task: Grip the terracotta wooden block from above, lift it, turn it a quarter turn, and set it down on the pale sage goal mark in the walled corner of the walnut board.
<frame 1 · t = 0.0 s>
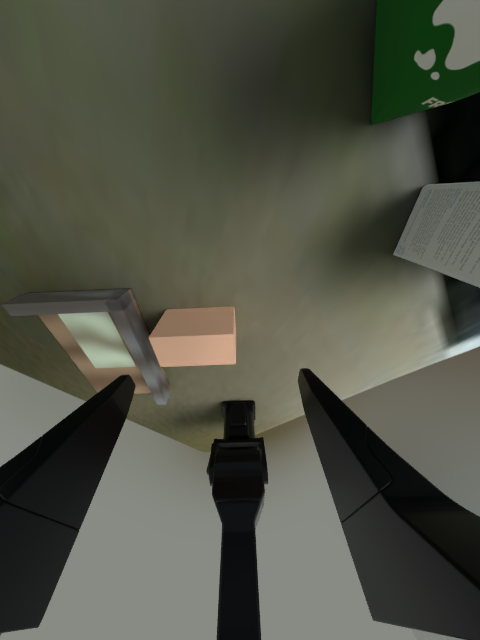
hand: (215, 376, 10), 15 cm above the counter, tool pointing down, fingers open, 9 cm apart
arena: (113, 350, 28), on the counter
light bulb box: (453, 222, 19), on the counter
terracotta block: (202, 321, 26), on the counter
milk carton: (425, 33, 13), on the counter
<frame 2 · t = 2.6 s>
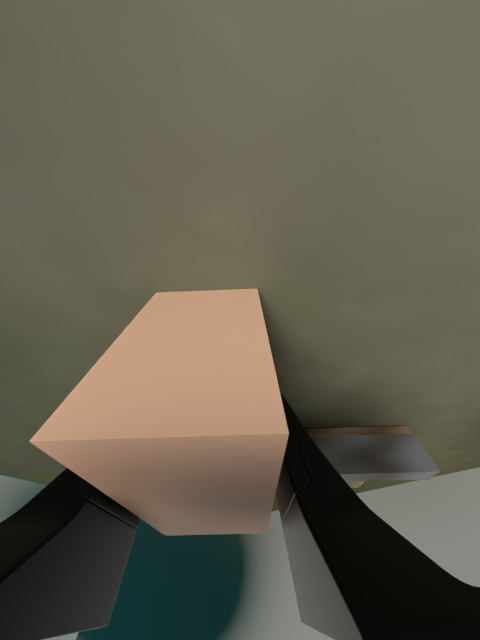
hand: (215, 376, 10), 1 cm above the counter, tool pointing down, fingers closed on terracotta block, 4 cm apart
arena: (276, 461, 19), on the counter
terracotta block: (217, 362, 11), on the counter, touching gripper
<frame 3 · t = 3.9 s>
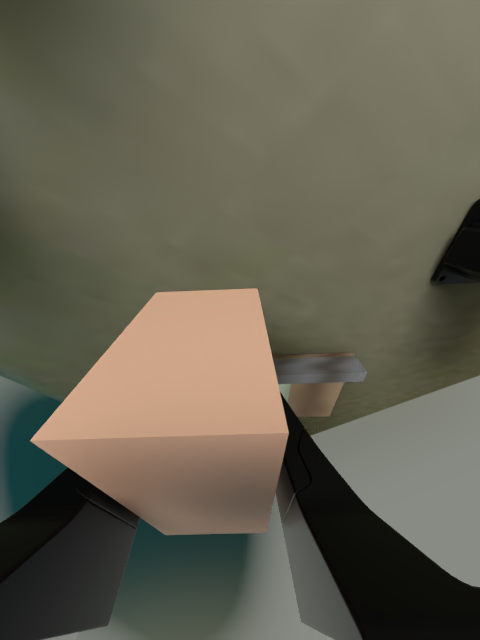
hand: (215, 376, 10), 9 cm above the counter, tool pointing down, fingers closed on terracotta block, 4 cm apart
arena: (266, 389, 26), on the counter
terracotta block: (217, 361, 11), point 8 cm above the counter, touching gripper
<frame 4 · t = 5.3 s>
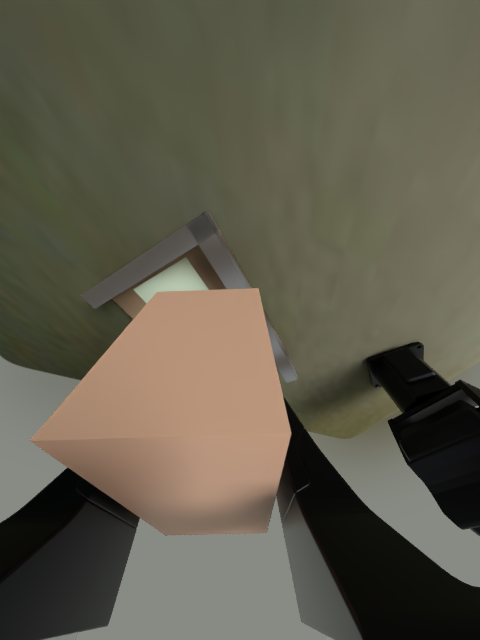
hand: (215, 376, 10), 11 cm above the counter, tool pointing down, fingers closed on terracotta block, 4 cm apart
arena: (210, 327, 22), on the counter
terracotta block: (217, 361, 11), point 10 cm above the counter, touching gripper
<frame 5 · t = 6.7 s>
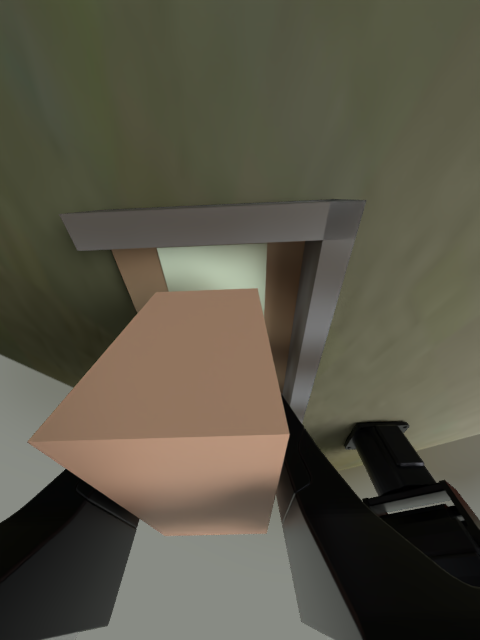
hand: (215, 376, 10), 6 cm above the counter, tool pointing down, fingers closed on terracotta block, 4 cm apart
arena: (230, 341, 16), on the counter
terracotta block: (217, 361, 11), point 5 cm above the counter, touching gripper
when the fingers open (3 cm above the counter, at t = 7.9 s): terracotta block drops 1 cm, resting on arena.
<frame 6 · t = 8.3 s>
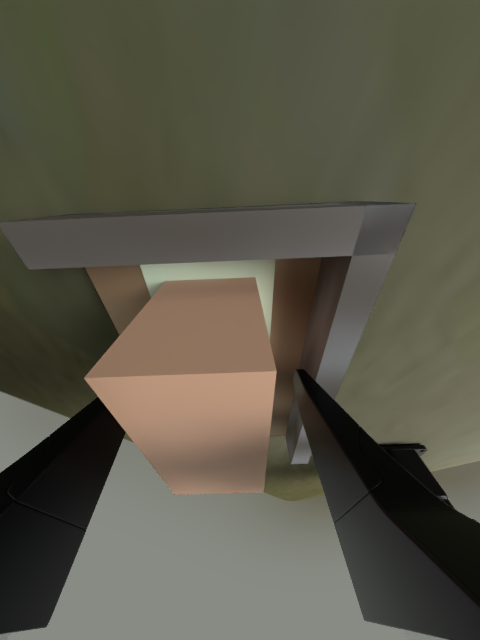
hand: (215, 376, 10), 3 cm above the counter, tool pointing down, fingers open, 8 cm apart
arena: (229, 364, 14), on the counter
terracotta block: (219, 346, 12), point 1 cm above the counter, touching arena
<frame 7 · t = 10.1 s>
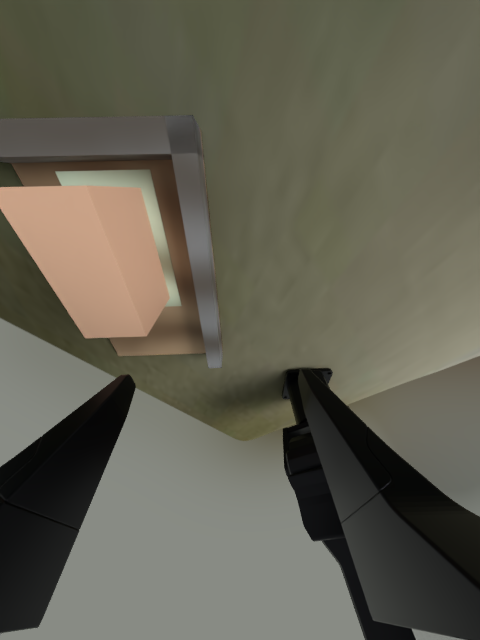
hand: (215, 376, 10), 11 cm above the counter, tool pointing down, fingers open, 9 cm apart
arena: (148, 276, 18), on the counter
terracotta block: (131, 252, 16), point 1 cm above the counter, touching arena
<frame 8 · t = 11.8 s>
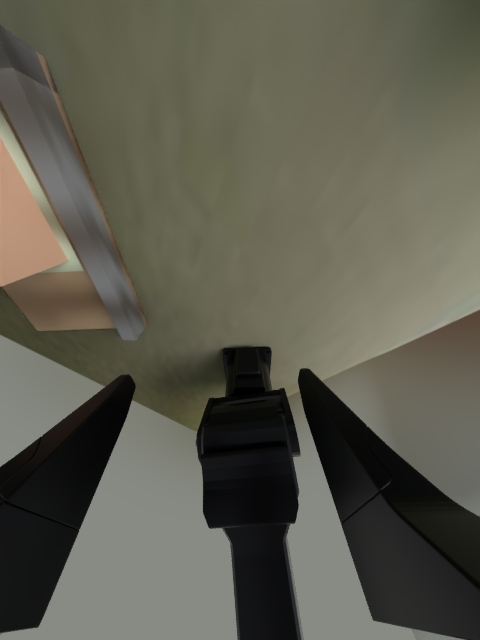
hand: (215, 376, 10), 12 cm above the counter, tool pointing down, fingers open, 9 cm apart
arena: (43, 237, 17), on the counter
terracotta block: (10, 206, 15), point 1 cm above the counter, touching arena
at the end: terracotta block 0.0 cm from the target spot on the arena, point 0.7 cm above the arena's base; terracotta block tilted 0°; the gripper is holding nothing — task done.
